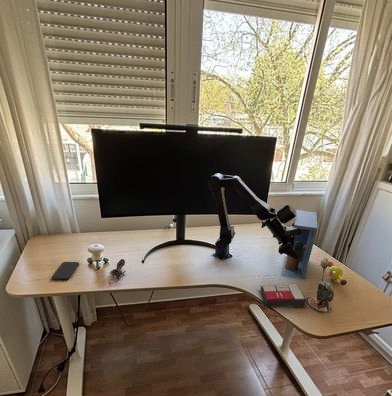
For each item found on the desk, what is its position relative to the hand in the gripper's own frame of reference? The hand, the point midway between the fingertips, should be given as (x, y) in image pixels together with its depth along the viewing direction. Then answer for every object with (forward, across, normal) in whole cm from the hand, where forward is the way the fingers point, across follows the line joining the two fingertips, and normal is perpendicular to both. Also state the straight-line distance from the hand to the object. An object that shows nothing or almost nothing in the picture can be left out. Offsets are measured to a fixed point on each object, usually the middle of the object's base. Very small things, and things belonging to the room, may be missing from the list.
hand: (297, 255), depth 135 cm
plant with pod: (+12, -28, -2) cm, 31 cm away
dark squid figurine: (-47, -35, +57) cm, 81 cm away
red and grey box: (+2, -28, +8) cm, 29 cm away
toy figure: (+17, -6, -7) cm, 19 cm away
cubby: (+5, +2, +5) cm, 7 cm away
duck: (+4, 0, +6) cm, 7 cm away
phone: (-63, -40, +73) cm, 105 cm away
